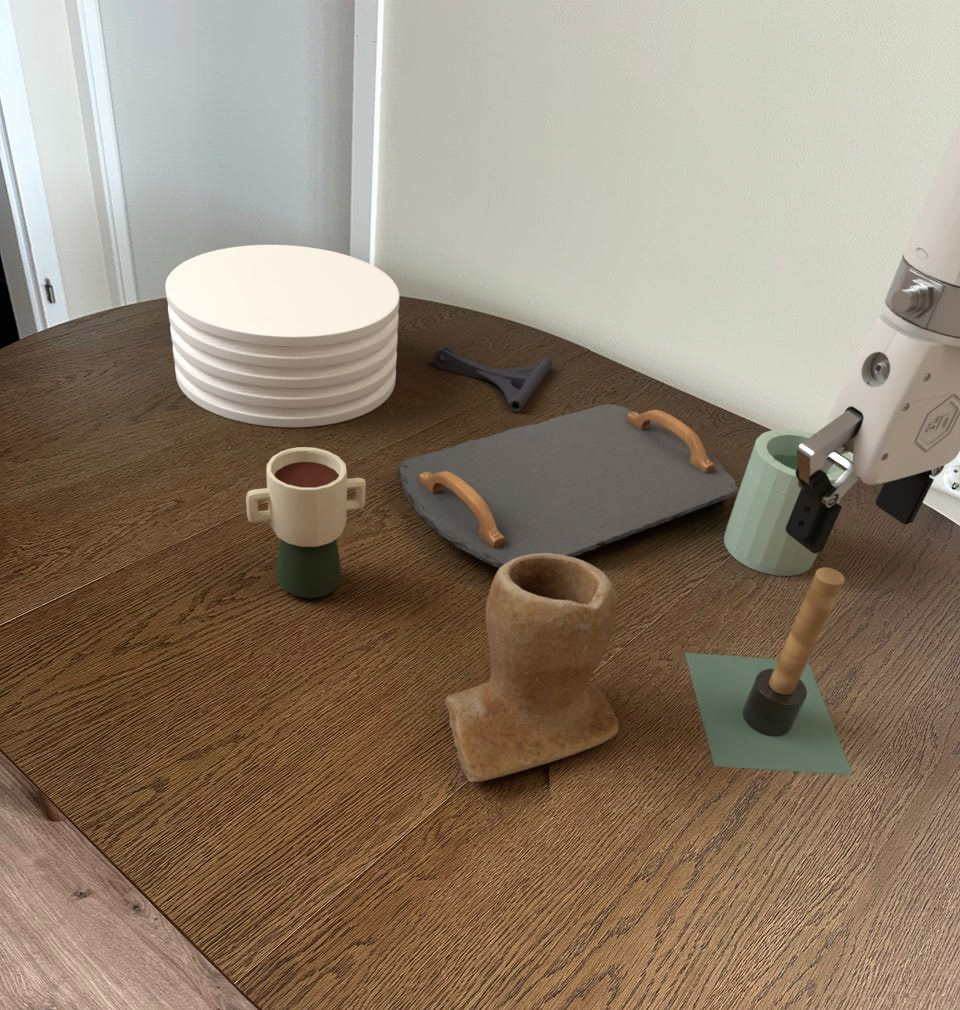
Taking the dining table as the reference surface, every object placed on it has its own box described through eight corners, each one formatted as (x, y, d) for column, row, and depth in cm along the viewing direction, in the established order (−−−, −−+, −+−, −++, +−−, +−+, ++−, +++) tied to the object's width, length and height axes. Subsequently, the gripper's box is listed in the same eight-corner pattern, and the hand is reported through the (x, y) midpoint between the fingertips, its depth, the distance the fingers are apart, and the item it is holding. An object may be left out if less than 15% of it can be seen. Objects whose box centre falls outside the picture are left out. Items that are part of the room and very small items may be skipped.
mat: (806, 665, 90) (808, 660, 90) (850, 779, 80) (853, 774, 79) (683, 657, 89) (685, 652, 89) (712, 770, 79) (714, 766, 78)
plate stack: (314, 312, 138) (313, 231, 130) (438, 391, 124) (445, 305, 116) (135, 355, 122) (122, 267, 115) (254, 451, 108) (248, 357, 100)
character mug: (353, 553, 96) (355, 440, 87) (373, 596, 91) (377, 482, 82) (245, 568, 92) (236, 452, 83) (260, 614, 87) (252, 496, 79)
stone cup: (564, 659, 87) (593, 525, 77) (631, 750, 79) (674, 615, 69) (412, 697, 81) (423, 559, 71) (469, 800, 74) (490, 660, 64)
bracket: (452, 345, 134) (453, 326, 133) (551, 370, 132) (554, 351, 130) (414, 387, 124) (415, 367, 122) (520, 414, 121) (523, 395, 119)
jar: (800, 525, 108) (837, 433, 100) (824, 579, 101) (867, 484, 93) (715, 519, 108) (746, 425, 100) (734, 572, 100) (768, 476, 92)
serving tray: (492, 606, 92) (500, 555, 88) (369, 489, 105) (370, 440, 101) (754, 504, 111) (770, 458, 107) (622, 415, 124) (632, 372, 120)
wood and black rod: (784, 701, 85) (849, 560, 74) (797, 738, 82) (867, 595, 71) (737, 698, 85) (795, 556, 74) (748, 735, 81) (810, 591, 71)
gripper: (908, 343, 52) (803, 585, 63) (1085, 309, 60) (963, 530, 71) (811, 290, 57) (728, 525, 68) (987, 265, 64) (887, 480, 76)
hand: (848, 527), depth 69 cm, fingers open, 9 cm apart
